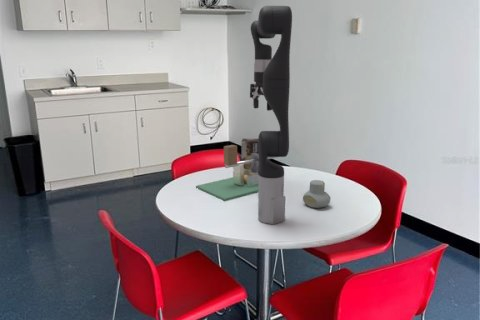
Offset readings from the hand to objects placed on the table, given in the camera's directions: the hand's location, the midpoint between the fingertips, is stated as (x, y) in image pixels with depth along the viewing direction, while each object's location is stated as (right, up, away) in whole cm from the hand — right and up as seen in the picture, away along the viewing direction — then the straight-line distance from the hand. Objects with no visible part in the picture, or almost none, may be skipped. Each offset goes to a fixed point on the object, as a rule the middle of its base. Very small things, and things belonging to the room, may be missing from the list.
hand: (262, 109), depth 183 cm
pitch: (-13, -35, +10) cm, 39 cm away
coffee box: (-4, -27, +39) cm, 48 cm away
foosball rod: (-4, -31, +17) cm, 36 cm away
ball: (-7, -30, +14) cm, 34 cm away
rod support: (-2, -32, +19) cm, 38 cm away
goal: (-7, -32, +15) cm, 36 cm away
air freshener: (+21, -40, -10) cm, 47 cm away
